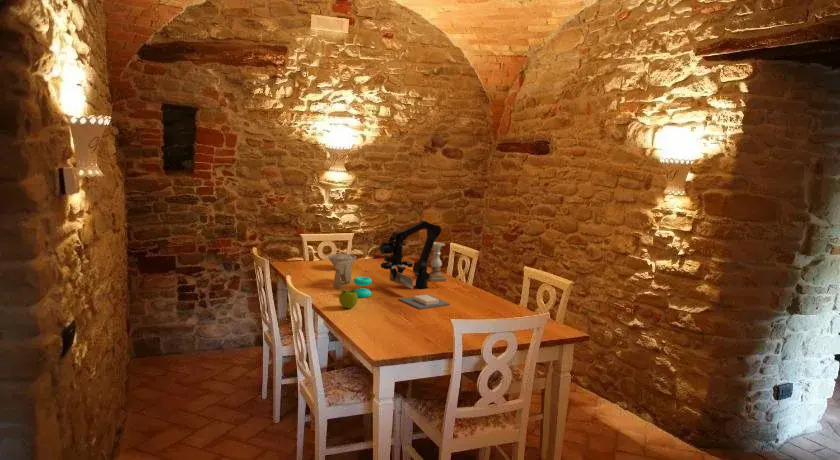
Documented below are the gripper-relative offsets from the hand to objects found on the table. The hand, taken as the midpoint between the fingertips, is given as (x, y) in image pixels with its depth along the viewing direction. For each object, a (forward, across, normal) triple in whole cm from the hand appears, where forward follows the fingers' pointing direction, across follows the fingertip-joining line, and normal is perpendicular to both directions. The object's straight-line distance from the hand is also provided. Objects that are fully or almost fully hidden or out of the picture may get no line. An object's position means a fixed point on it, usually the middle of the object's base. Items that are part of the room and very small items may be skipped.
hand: (396, 279), depth 310 cm
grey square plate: (+6, 0, +29) cm, 30 cm away
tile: (+4, 0, +25) cm, 25 cm away
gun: (+7, +22, -24) cm, 33 cm away
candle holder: (+7, -39, -13) cm, 42 cm away
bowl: (+7, +3, -63) cm, 63 cm away
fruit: (+7, +42, +21) cm, 48 cm away
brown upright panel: (+2, 0, +6) cm, 6 cm away
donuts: (+7, +24, +3) cm, 25 cm away
